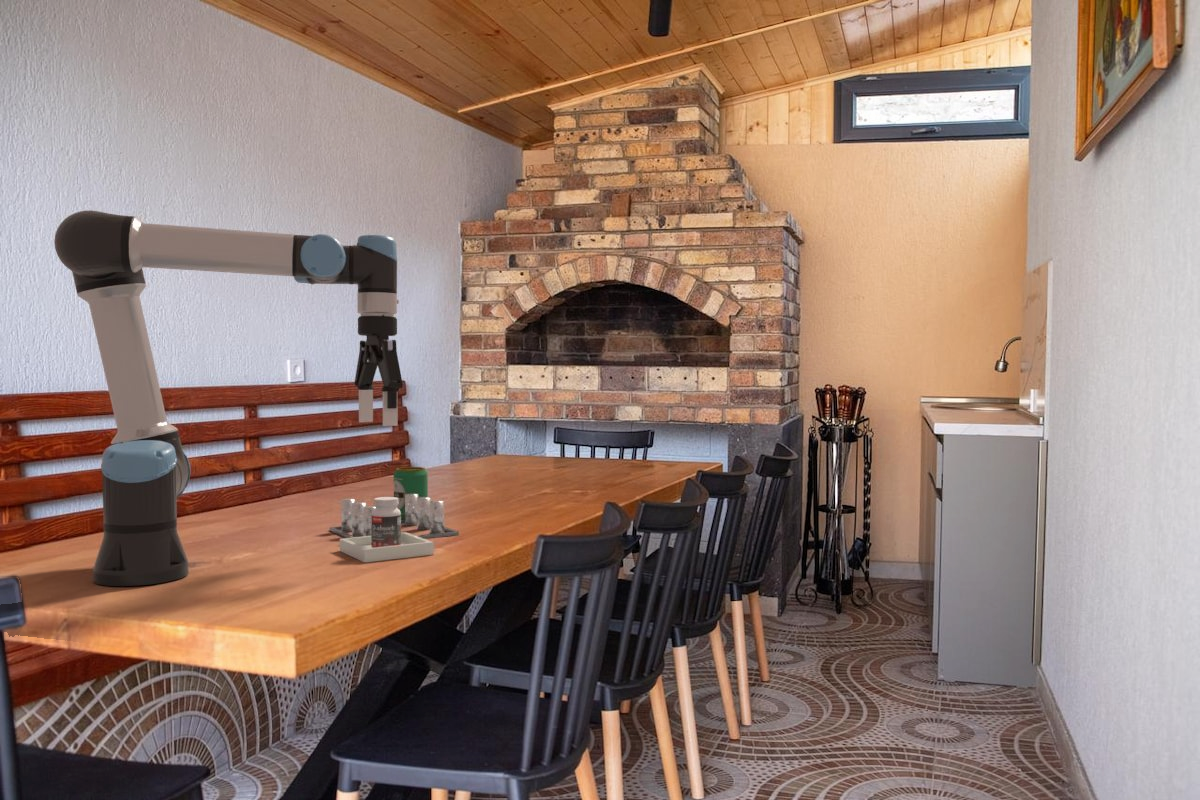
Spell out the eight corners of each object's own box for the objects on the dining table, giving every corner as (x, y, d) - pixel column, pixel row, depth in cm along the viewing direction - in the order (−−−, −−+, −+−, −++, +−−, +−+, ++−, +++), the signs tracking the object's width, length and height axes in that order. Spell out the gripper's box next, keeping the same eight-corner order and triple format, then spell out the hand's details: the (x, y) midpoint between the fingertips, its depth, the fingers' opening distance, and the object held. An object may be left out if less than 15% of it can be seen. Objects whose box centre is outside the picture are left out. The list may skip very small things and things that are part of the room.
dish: (364, 562, 189) (364, 549, 189) (339, 550, 201) (339, 538, 200) (433, 554, 196) (433, 542, 196) (406, 543, 208) (405, 532, 208)
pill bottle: (368, 551, 196) (368, 500, 195) (374, 546, 201) (373, 496, 201) (398, 551, 196) (398, 500, 195) (403, 545, 201) (402, 496, 201)
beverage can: (387, 518, 242) (387, 468, 242) (416, 514, 247) (416, 466, 247) (405, 522, 236) (404, 471, 236) (434, 518, 242) (433, 468, 241)
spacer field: (362, 545, 207) (362, 511, 206) (328, 530, 225) (327, 498, 225) (460, 534, 219) (460, 502, 219) (420, 521, 237) (419, 491, 237)
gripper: (420, 313, 189) (420, 426, 190) (373, 318, 210) (374, 420, 211) (381, 312, 185) (381, 428, 186) (338, 317, 206) (338, 421, 207)
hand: (377, 424), depth 198 cm, fingers open, 13 cm apart
